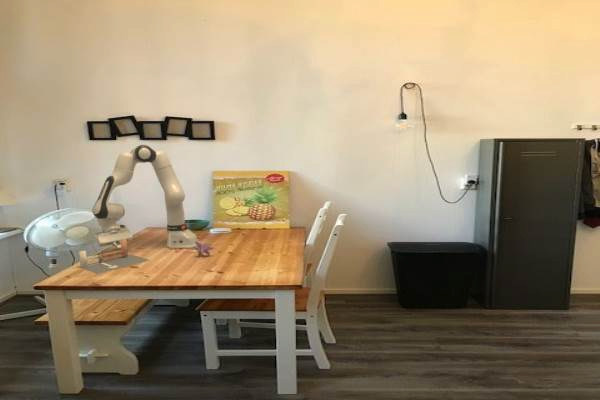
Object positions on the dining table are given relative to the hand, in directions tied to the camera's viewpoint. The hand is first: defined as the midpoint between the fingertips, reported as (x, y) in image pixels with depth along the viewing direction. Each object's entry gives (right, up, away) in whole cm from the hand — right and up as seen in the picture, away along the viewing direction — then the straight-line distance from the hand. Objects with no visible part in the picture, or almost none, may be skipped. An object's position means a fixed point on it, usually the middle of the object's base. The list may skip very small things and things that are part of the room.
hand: (119, 248), depth 227 cm
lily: (+51, -5, -3) cm, 51 cm away
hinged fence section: (+1, -5, -7) cm, 9 cm away
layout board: (+5, -7, -15) cm, 17 cm away
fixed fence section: (-7, -7, -17) cm, 20 cm away
